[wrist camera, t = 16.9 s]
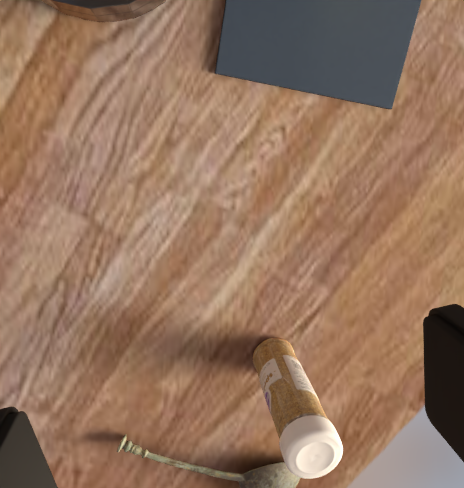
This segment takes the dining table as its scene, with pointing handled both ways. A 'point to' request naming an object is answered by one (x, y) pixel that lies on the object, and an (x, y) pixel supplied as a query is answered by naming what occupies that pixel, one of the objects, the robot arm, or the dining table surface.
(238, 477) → the soupspoon
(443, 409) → the robot arm
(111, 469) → the dining table surface
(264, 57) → the napkin
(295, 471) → the sprinkles bottle
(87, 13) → the pan
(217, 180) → the dining table surface
